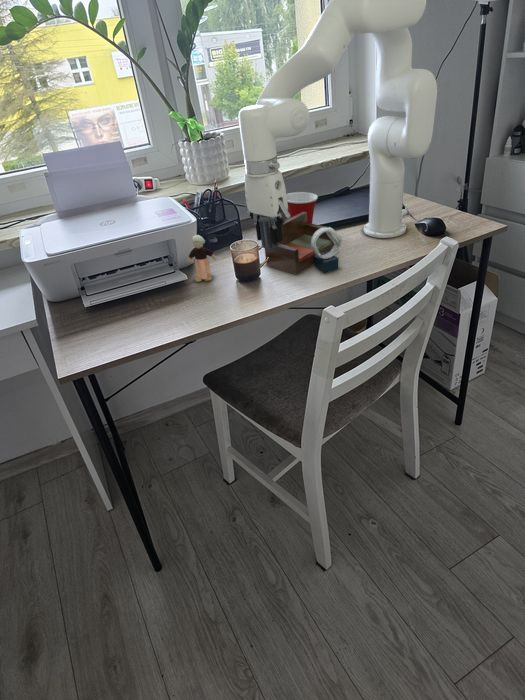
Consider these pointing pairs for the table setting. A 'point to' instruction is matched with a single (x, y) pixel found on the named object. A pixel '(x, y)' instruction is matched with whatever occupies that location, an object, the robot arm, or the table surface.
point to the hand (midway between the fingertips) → (269, 239)
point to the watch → (327, 259)
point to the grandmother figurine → (201, 259)
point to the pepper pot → (266, 232)
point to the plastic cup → (301, 204)
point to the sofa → (297, 245)
